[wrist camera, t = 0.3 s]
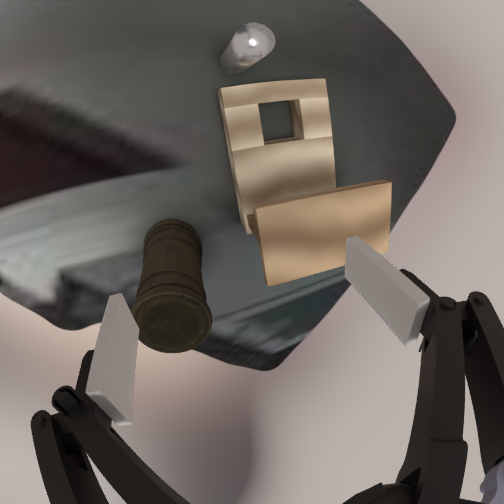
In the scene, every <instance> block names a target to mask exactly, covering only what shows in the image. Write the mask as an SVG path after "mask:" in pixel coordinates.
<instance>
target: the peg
mask: <svg viewBox="0 0 504 504" xmlns="http://www.w3.org/2000/svg"><path fill="white" fill-rule="evenodd" d="M274 46H275V37H274V34H273V33H272V31H271V30H270V29H269V28H268V27H266V26H265V25H262V24H259V23H248V24H245V25H243V26H241V27H240V28H239V29H238V30H237V31H236V33H235V35H234V36H233V38H232V39H231V41H230V43H229V44H228V46H227V48H226V49H225V51H224V53H223V54H222V56H221V58H220V66H221V68H222V69H223V71H225V72H226V73H228V74H231V75H238V74H241V73H243V72H244V71H246V70H247V69H248V68H250V67H251V66H252V65H254V64H255V63H256V62H258V61H259V60H260V59H262V58H263V57H264V56H266V55H267V54H269V53H270V52H271V51H272V50H273V48H274Z"/></svg>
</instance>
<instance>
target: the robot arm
mask: <svg viewBox="0 0 504 504" xmlns="http://www.w3.org/2000/svg"><path fill="white" fill-rule="evenodd" d="M345 277H346V279H347V280H348V281H349V282H350V283H351V284H352V285H353V286H354V287H355V289H356V290H357V291H358V292H359V293H360V294H361V295H362V296H363V298H364V299H365V300H366V301H367V302H368V303H369V304H370V305H371V307H372V308H373V309H374V310H375V311H376V313H377V314H378V315H379V316H380V317H381V318H382V319H383V320H384V322H385V323H386V324H387V325H388V327H389V328H390V329H391V330H392V331H393V332H394V334H395V335H396V336H397V337H398V338H399V340H400V341H401V342H402V343H403V344H404V346H405V347H406V346H408V345H410V344H412V343H414V342H416V341H417V339H418V336H419V333H421V334H422V335H423V336H424V338H423V341H422V343H421V346H420V349H419V352H421V349H422V355H421V368H420V379H419V387H418V395H417V403H416V409H415V414H414V420H413V426H412V431H411V436H410V441H409V445H408V449H407V453H406V458H405V461H404V463H403V465H402V467H401V469H400V471H399V473H398V476H397V479H396V482H395V484H386V485H382V483H379V484H377V485H375V486H373V487H371V488H369V489H367V490H365V491H362V492H360V493H358V494H356V495H354V496H353V497H351V498H350V499H348V500H347V501H346V502H344V503H343V504H504V328H503V326H502V324H501V322H500V320H499V318H498V316H497V314H496V312H495V310H494V308H493V306H492V304H491V302H490V301H489V299H488V298H487V296H486V295H485V294H483V293H481V292H476V291H474V292H471V293H470V294H469V296H468V299H467V301H461V302H456V301H455V300H454V299H452V298H450V297H439V296H438V295H437V294H435V293H434V292H433V291H432V290H431V289H430V288H429V287H428V286H427V285H425V284H424V283H422V281H421V280H419V279H418V278H417V277H416V276H415V275H414V274H413V273H411V272H409V271H407V270H405V269H401V270H398V269H397V268H396V267H395V266H393V265H392V264H391V263H390V262H389V261H388V260H386V259H385V258H384V257H383V256H381V255H380V254H379V253H378V252H377V251H375V250H374V249H373V248H372V247H371V246H369V245H368V244H367V243H366V242H364V241H363V240H362V239H361V238H359V237H358V236H353V237H349V238H346V260H345ZM138 337H139V327H138V325H137V323H136V322H135V320H134V318H133V316H132V314H131V312H130V310H129V308H128V305H127V303H126V301H125V299H124V297H123V295H122V293H120V294H115V295H111V296H110V297H109V300H108V303H107V307H106V310H105V313H104V317H103V320H102V324H101V327H100V331H99V335H98V338H97V342H96V346H95V350H89V351H88V352H87V353H86V354H85V356H84V358H83V360H82V364H81V368H80V372H79V376H78V380H77V385H76V389H75V390H74V389H73V388H72V387H71V386H62V387H60V388H59V389H57V390H56V391H55V393H54V395H53V397H52V406H53V407H54V408H55V409H56V410H57V411H58V412H59V413H57V414H54V415H50V414H49V413H48V412H47V411H45V410H40V411H38V412H37V413H35V414H34V416H33V417H32V420H31V430H32V435H33V441H34V446H35V451H36V455H37V460H38V464H39V468H40V471H41V475H42V479H43V482H44V485H45V489H46V492H47V495H48V498H49V501H50V503H51V504H109V503H108V501H107V499H106V497H105V495H104V493H103V491H102V489H101V487H100V485H99V482H98V480H97V478H96V476H95V474H94V471H93V469H92V466H91V464H90V461H89V459H88V456H89V457H90V458H91V460H92V461H93V463H94V464H95V465H96V467H97V468H98V469H99V471H100V472H101V473H102V474H103V476H104V477H105V478H106V480H107V481H108V482H109V483H110V485H111V486H112V487H113V488H114V489H115V490H116V491H117V493H118V494H119V495H120V496H121V497H122V499H123V500H124V501H125V502H126V503H127V504H190V503H189V502H188V501H187V500H185V499H184V498H183V497H182V496H180V495H179V494H178V493H177V492H176V491H175V490H173V489H172V488H171V487H170V486H169V485H168V484H166V483H165V482H164V481H163V480H162V479H161V478H160V477H159V476H158V475H157V474H156V473H154V471H153V470H152V469H150V468H149V467H148V466H147V465H146V464H145V463H144V462H143V461H142V460H141V459H140V457H138V455H137V454H136V453H135V452H134V451H133V450H132V449H131V448H130V447H129V446H128V445H127V444H126V443H125V442H124V440H123V439H122V438H121V437H120V436H119V434H118V433H117V432H116V431H115V430H114V429H113V428H112V427H111V422H112V421H111V420H113V421H114V422H115V423H116V424H117V425H131V424H132V412H133V393H134V377H135V366H136V355H137V346H138ZM465 375H466V379H467V383H468V387H469V391H470V395H471V400H472V404H473V409H474V414H475V419H476V425H477V431H478V438H479V445H480V452H481V460H482V465H483V469H484V473H485V475H486V476H485V478H484V481H483V482H482V484H481V485H480V491H481V493H484V495H483V499H482V501H481V502H475V501H470V500H465V499H460V498H459V497H460V493H461V488H462V483H463V478H464V472H465V466H466V460H467V452H468V445H467V442H466V441H464V440H463V425H464V409H465ZM86 453H87V454H88V456H87V454H86Z"/></svg>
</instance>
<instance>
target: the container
mask: <svg viewBox="0 0 504 504" xmlns="http://www.w3.org/2000/svg"><path fill="white" fill-rule="evenodd" d="M143 254H144V257H143V269H142V274H141V278H140V284H139V287H138V290H137V295H136V298H137V299H136V301H135V303H134V304H133V306H132V309H131V314H132V316H133V318H134V320H135V322H136V323H137V325H138V327H139V337H138V339H139V340H140V341H141V342H142V343H143V344H144V345H146V346H147V347H149V348H151V349H154V350H156V351H159V352H164V353H181V352H185V351H189V350H191V349H193V348H195V347H197V346H199V345H200V344H201V343H202V342H203V341H204V340H205V339H206V338H207V336H208V335H209V333H210V330H211V327H212V314H211V311H210V308H209V306H208V304H207V303H206V293H205V290H204V286H203V280H202V273H201V265H202V263H201V259H202V243H201V240H200V238H199V236H198V234H197V233H196V231H195V230H194V229H193V228H192V227H190V226H189V225H187V224H185V223H183V222H180V221H174V220H168V221H163V222H160V223H158V224H156V225H155V226H153V227H152V228H151V229H150V230H149V232H148V233H147V235H146V237H145V240H144V250H143Z"/></svg>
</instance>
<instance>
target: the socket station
mask: <svg viewBox="0 0 504 504" xmlns="http://www.w3.org/2000/svg"><path fill="white" fill-rule="evenodd" d="M217 92H218V98H219V104H220V109H221V115H222V120H223V126H224V131H225V137H226V142H227V148H228V153H229V159H230V164H231V169H232V175H233V180H234V186H235V191H236V197H237V202H238V207H239V213H240V218H241V224H242V226H243V228H244V230H245V231H246V233H247V234H251V233H253V235H254V236H255V238H256V240H257V242H258V243H259V247H260V254H261V260H262V266H263V272H264V279H265V282H266V284H267V286H268V287H269V286H273V285H277V284H280V283H284V282H288V281H291V280H295V279H298V278H302V277H305V276H309V275H312V274H316V273H319V272H323V271H326V270H330V269H333V268H336V267H340V266H343V265H345V260H346V238H349V237H353V236H358V237H359V238H361V239H362V240H363V241H364V242H366V243H367V244H368V245H369V246H371V247H372V248H373V249H374V250H375V251H377V252H378V253H379V254H382V253H385V252H388V244H389V231H390V215H391V184H392V182H389V181H387V180H379V181H373V182H367V183H361V184H355V185H350V186H344V187H339V188H336V178H335V163H334V150H333V139H332V129H331V120H330V111H329V103H328V95H327V88H326V81H325V79H303V80H286V81H273V82H263V83H254V84H246V85H239V86H232V87H225V88H221V89H219V90H218V91H217ZM287 100H289V105H290V112H291V119H292V126H293V134H294V137H291V138H284V139H277V140H270V141H264V140H263V133H262V127H261V120H260V114H259V108H258V104H261V103H269V102H277V101H287Z"/></svg>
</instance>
